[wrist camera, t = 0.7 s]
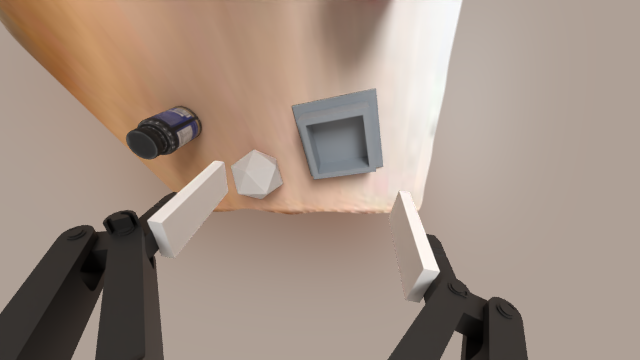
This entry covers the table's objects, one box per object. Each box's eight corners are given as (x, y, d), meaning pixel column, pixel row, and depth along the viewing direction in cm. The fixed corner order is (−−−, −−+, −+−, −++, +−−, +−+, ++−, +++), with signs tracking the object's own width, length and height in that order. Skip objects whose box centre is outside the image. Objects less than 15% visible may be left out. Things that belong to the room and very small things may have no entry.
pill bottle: (164, 114, 42) (112, 135, 33) (186, 99, 40) (137, 118, 31) (187, 142, 45) (145, 169, 36) (209, 129, 43) (170, 154, 34)
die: (253, 134, 43) (211, 168, 39) (287, 151, 39) (245, 191, 35) (266, 163, 50) (232, 195, 46) (296, 180, 46) (262, 217, 42)
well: (292, 105, 39) (286, 113, 35) (375, 88, 36) (378, 94, 32) (311, 174, 46) (308, 187, 42) (382, 165, 43) (385, 177, 39)
